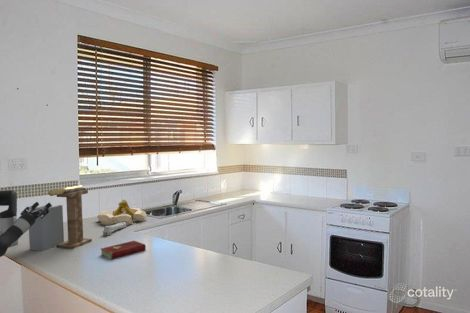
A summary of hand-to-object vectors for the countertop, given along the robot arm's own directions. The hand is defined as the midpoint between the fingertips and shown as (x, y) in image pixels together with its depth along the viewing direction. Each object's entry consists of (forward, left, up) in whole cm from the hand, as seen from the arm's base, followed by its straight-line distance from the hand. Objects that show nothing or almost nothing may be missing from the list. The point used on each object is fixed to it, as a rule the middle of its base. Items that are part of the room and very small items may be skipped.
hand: (43, 203), depth 210 cm
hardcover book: (+37, -20, -29) cm, 51 cm away
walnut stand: (+17, +14, -29) cm, 36 cm away
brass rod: (+13, +11, +3) cm, 18 cm away
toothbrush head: (+45, +31, -29) cm, 62 cm away
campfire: (+58, +61, -29) cm, 89 cm away
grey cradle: (+2, +19, -29) cm, 35 cm away
